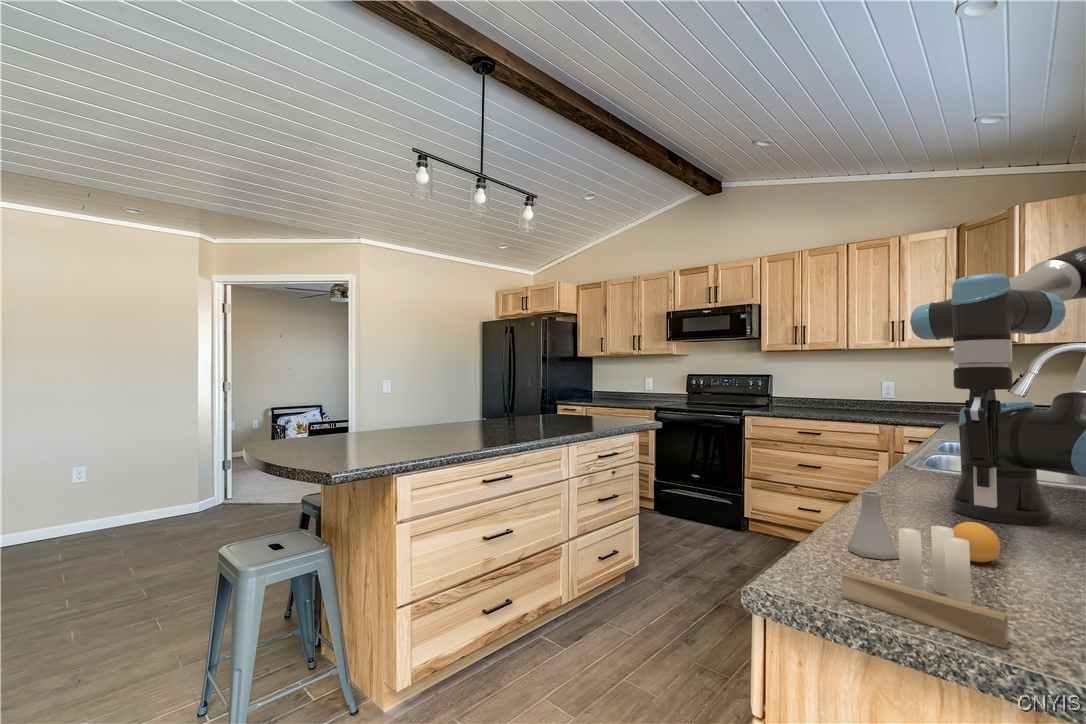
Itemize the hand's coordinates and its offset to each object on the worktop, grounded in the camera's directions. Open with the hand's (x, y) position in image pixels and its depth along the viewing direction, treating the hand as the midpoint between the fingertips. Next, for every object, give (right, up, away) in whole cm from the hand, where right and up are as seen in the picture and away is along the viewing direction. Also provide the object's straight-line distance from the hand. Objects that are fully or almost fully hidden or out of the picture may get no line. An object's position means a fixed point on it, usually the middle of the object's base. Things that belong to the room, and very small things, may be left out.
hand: (985, 505), depth 84 cm
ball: (-7, -4, -6) cm, 10 cm away
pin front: (-20, -7, -17) cm, 27 cm away
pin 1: (-25, -7, -17) cm, 32 cm away
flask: (-20, -8, -2) cm, 22 cm away
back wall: (-29, -7, -24) cm, 38 cm away
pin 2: (-22, -7, -21) cm, 32 cm away
